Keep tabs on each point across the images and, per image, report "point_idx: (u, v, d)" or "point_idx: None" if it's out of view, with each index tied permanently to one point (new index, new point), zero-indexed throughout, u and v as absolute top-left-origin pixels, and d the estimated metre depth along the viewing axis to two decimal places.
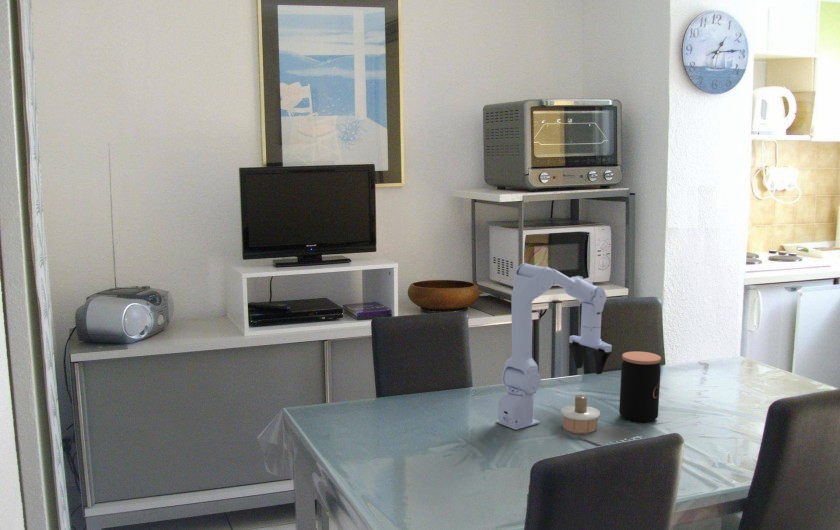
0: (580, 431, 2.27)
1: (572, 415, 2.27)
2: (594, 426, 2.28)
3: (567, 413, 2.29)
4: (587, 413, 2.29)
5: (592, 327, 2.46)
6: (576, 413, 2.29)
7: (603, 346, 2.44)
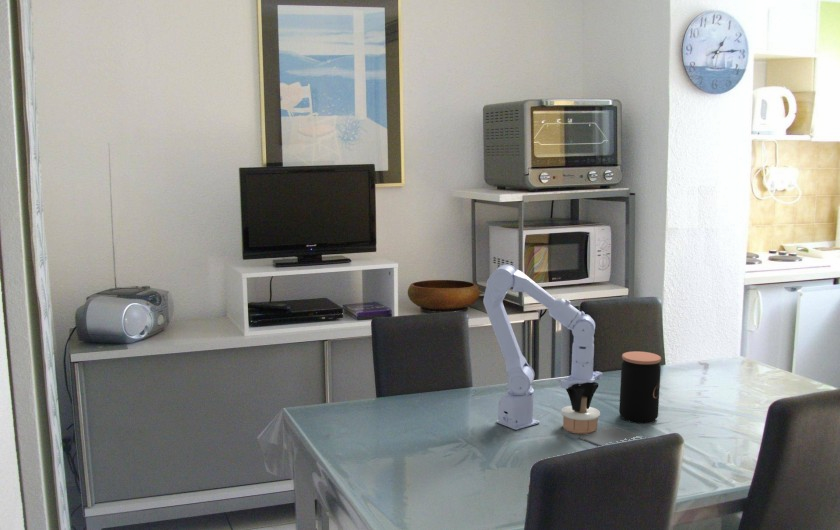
0: (580, 431, 2.27)
1: (572, 415, 2.27)
2: (594, 426, 2.28)
3: (567, 413, 2.29)
4: (587, 413, 2.29)
5: (572, 359, 2.29)
6: (576, 413, 2.29)
7: None
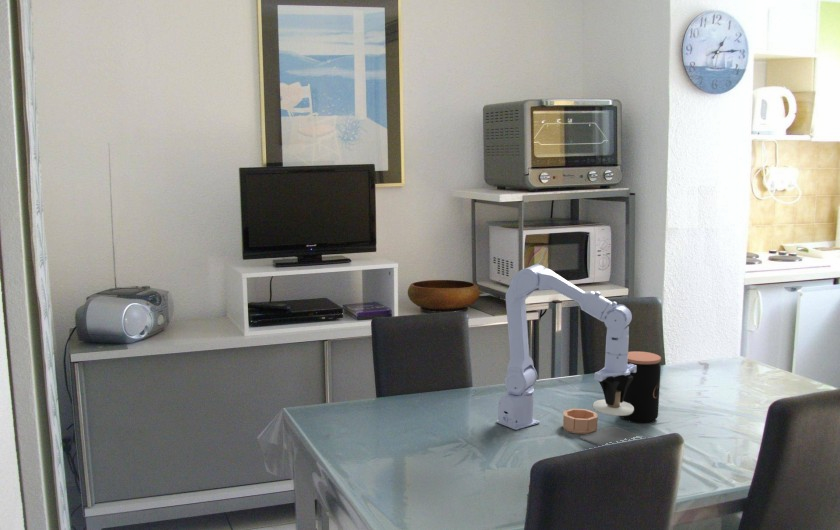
0: (580, 431, 2.27)
1: (605, 410, 2.19)
2: (594, 426, 2.28)
3: (600, 408, 2.21)
4: (620, 408, 2.21)
5: None
6: (609, 408, 2.21)
7: None
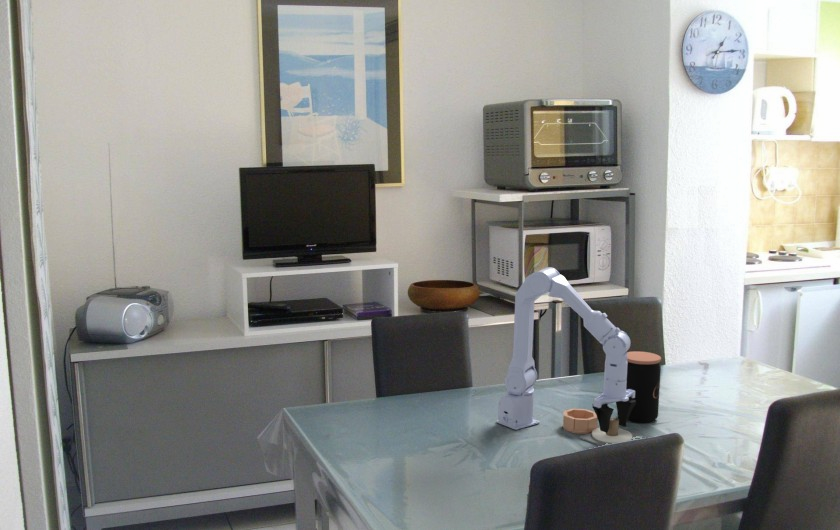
0: (580, 431, 2.27)
1: (604, 438, 2.21)
2: (594, 426, 2.28)
3: (598, 436, 2.22)
4: (619, 436, 2.22)
5: (604, 377, 2.21)
6: (608, 436, 2.22)
7: None
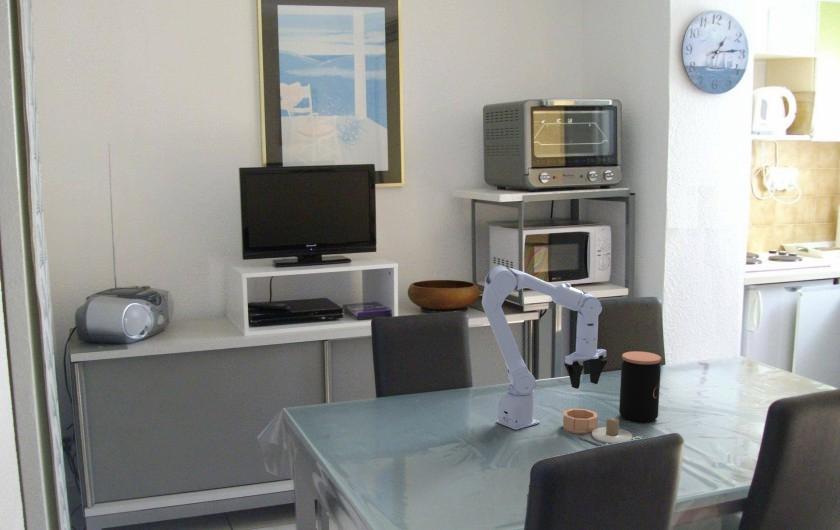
0: (580, 431, 2.27)
1: (603, 438, 2.21)
2: (594, 426, 2.28)
3: (598, 436, 2.22)
4: (619, 436, 2.22)
5: (576, 336, 2.34)
6: (608, 436, 2.22)
7: None
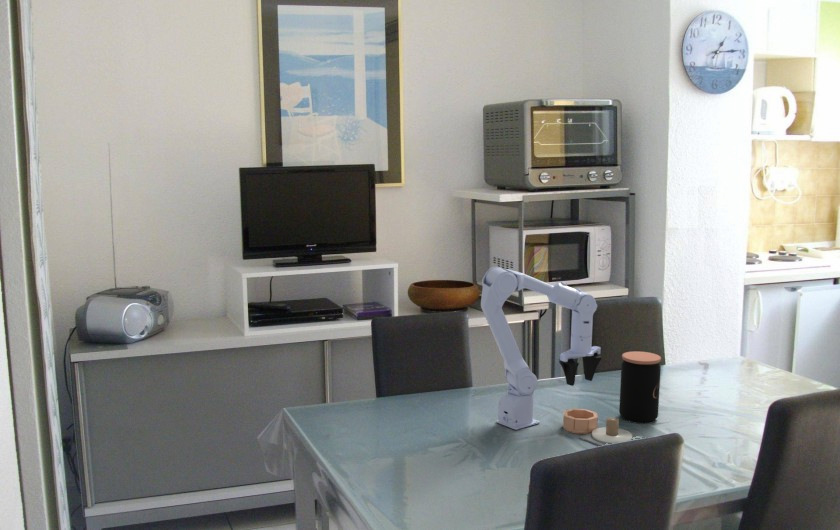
0: (580, 431, 2.27)
1: (603, 438, 2.21)
2: (594, 426, 2.28)
3: (598, 436, 2.22)
4: (619, 436, 2.22)
5: (571, 334, 2.36)
6: (607, 436, 2.22)
7: None
